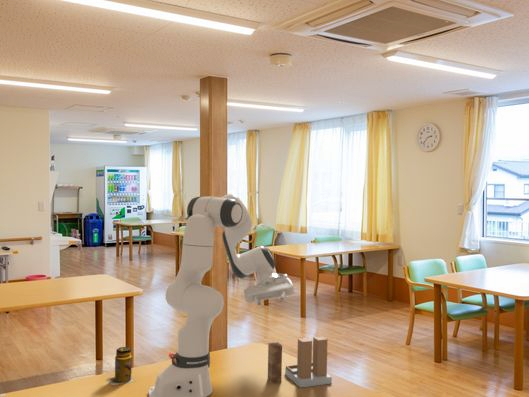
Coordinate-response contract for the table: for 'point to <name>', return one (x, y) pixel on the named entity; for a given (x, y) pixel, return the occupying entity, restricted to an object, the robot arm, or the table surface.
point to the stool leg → (274, 362)
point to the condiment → (122, 367)
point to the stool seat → (310, 363)
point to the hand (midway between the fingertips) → (270, 301)
